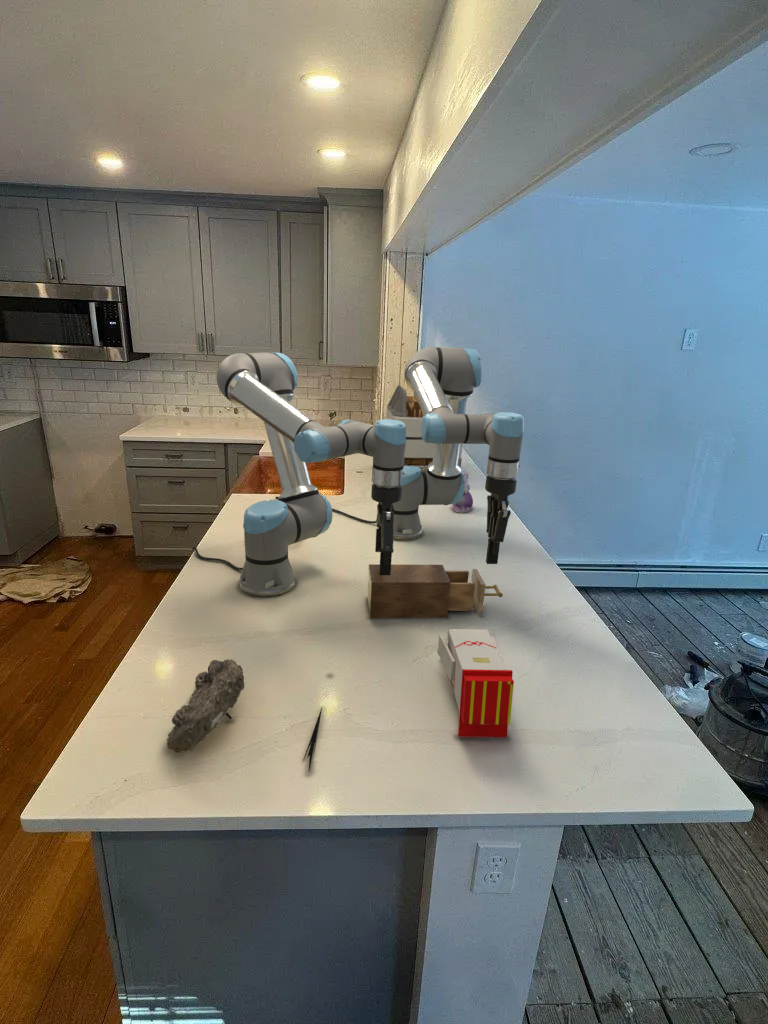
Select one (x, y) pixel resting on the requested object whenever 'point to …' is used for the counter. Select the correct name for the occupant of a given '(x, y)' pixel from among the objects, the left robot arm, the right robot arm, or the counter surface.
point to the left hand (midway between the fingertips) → (382, 562)
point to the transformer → (412, 428)
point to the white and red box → (478, 682)
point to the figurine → (464, 499)
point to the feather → (313, 740)
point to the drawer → (468, 591)
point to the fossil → (206, 705)
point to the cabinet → (408, 592)
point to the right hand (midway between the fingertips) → (491, 562)
